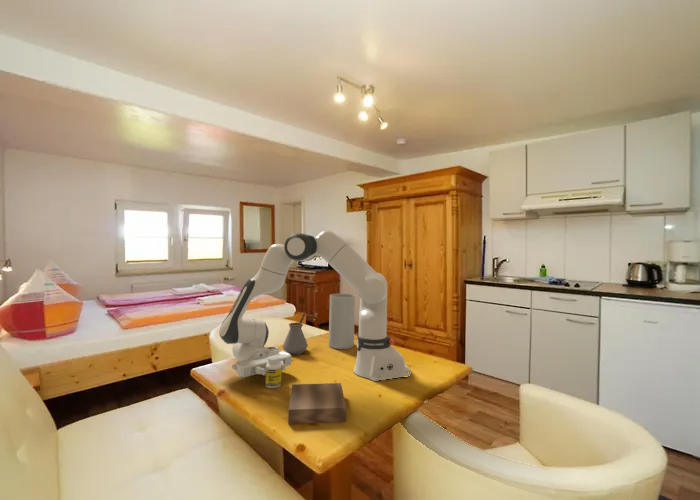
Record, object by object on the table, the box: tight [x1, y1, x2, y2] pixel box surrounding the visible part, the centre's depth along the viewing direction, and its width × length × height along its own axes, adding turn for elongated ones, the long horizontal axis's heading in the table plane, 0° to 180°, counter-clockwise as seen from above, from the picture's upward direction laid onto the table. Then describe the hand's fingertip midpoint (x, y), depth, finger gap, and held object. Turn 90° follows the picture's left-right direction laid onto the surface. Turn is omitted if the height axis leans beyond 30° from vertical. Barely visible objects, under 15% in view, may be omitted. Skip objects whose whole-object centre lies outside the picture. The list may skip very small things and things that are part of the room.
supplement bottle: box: [264, 356, 283, 389], centre depth 111 cm, size 5×5×10 cm
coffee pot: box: [282, 312, 308, 355], centre depth 152 cm, size 21×12×15 cm, turn 172°
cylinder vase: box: [328, 293, 356, 350], centre depth 157 cm, size 12×12×25 cm
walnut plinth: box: [287, 382, 347, 425], centre depth 96 cm, size 16×16×4 cm
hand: (274, 370), depth 111 cm, fingers closed on supplement bottle, 5 cm apart
